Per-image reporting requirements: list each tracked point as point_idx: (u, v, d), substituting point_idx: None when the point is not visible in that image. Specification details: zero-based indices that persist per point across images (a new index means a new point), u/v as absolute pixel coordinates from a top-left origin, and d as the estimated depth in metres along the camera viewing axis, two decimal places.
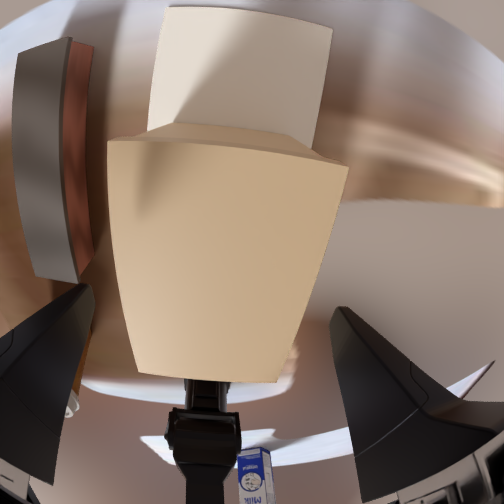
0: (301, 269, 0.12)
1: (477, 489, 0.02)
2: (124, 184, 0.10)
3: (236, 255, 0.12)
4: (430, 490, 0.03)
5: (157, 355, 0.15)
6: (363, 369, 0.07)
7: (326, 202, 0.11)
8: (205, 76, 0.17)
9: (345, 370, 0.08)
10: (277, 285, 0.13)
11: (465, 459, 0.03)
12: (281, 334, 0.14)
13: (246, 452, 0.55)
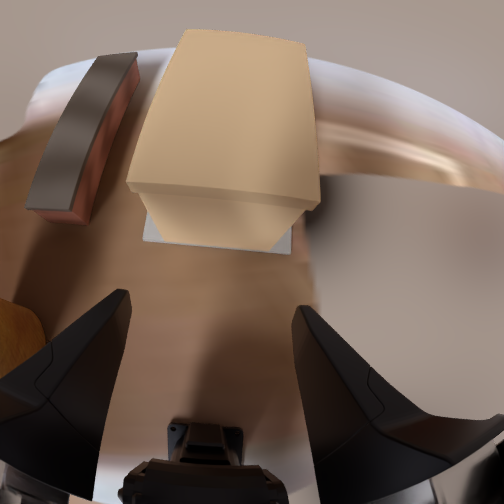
0: (297, 75, 0.15)
1: None
2: (190, 39, 0.15)
3: (253, 63, 0.15)
4: None
5: (166, 143, 0.12)
6: (318, 373, 0.07)
7: (299, 52, 0.16)
8: None
9: (303, 372, 0.08)
10: (284, 81, 0.15)
11: (422, 484, 0.03)
12: (301, 119, 0.14)
13: None
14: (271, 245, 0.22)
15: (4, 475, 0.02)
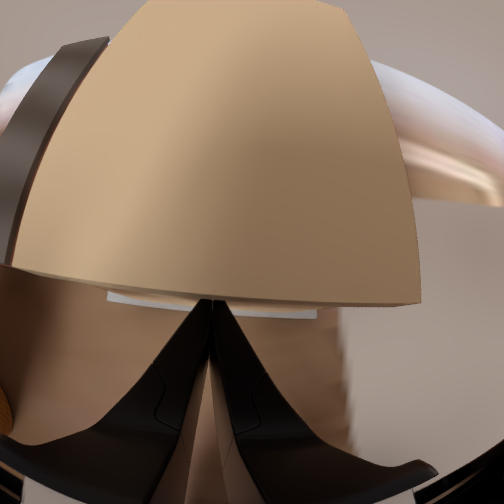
0: (346, 44, 0.08)
1: None
2: None
3: (271, 21, 0.07)
4: None
5: (87, 171, 0.05)
6: (215, 372, 0.07)
7: (339, 16, 0.09)
8: None
9: (211, 371, 0.08)
10: (328, 49, 0.07)
11: None
12: (371, 118, 0.07)
13: None
14: (293, 311, 0.14)
15: None
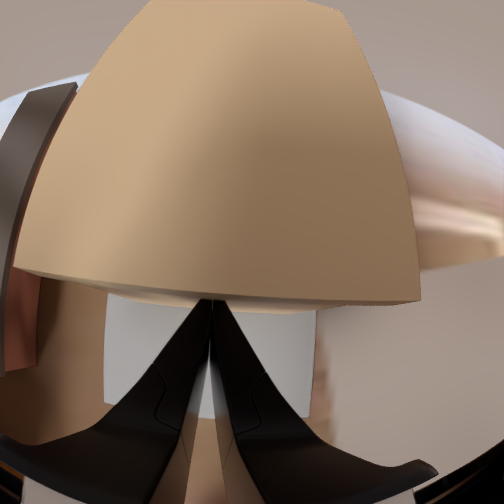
0: (344, 46, 0.08)
1: None
2: None
3: (270, 24, 0.08)
4: None
5: (88, 172, 0.05)
6: (215, 372, 0.07)
7: (336, 18, 0.09)
8: None
9: (211, 371, 0.08)
10: (326, 51, 0.07)
11: None
12: (369, 119, 0.07)
13: None
14: None
15: None
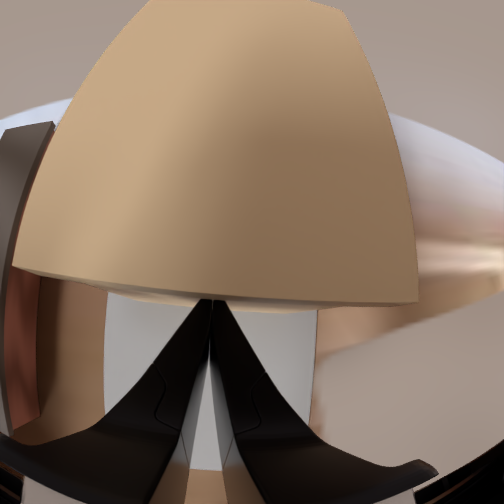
0: (344, 45, 0.08)
1: None
2: None
3: (270, 23, 0.07)
4: None
5: (86, 172, 0.05)
6: (215, 372, 0.07)
7: (337, 17, 0.09)
8: None
9: (211, 371, 0.08)
10: (326, 50, 0.07)
11: None
12: (369, 119, 0.07)
13: None
14: (292, 312, 0.14)
15: None
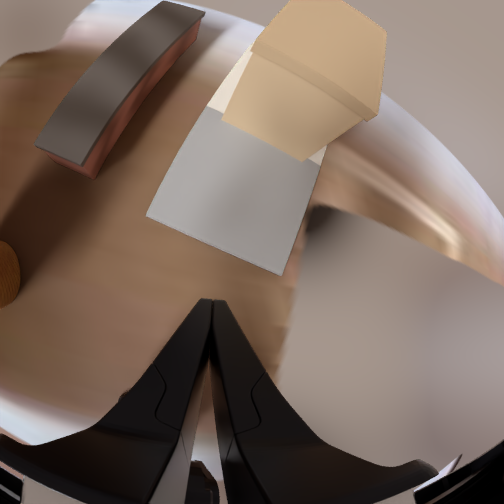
0: (378, 45, 0.17)
1: None
2: None
3: (351, 24, 0.16)
4: None
5: (288, 35, 0.14)
6: (215, 372, 0.07)
7: (381, 34, 0.17)
8: None
9: (211, 371, 0.08)
10: (369, 44, 0.16)
11: None
12: (375, 69, 0.16)
13: None
14: (309, 154, 0.24)
15: None
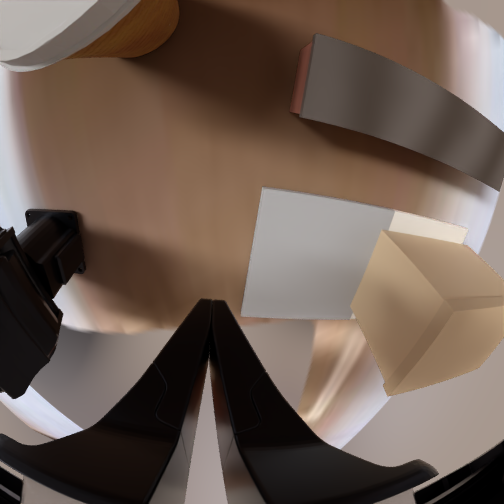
0: (460, 371, 0.18)
1: None
2: None
3: (479, 350, 0.17)
4: None
5: (460, 327, 0.14)
6: (215, 372, 0.07)
7: (474, 367, 0.19)
8: None
9: (211, 371, 0.08)
10: (460, 367, 0.18)
11: None
12: (433, 380, 0.18)
13: None
14: (356, 317, 0.25)
15: None
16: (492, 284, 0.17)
